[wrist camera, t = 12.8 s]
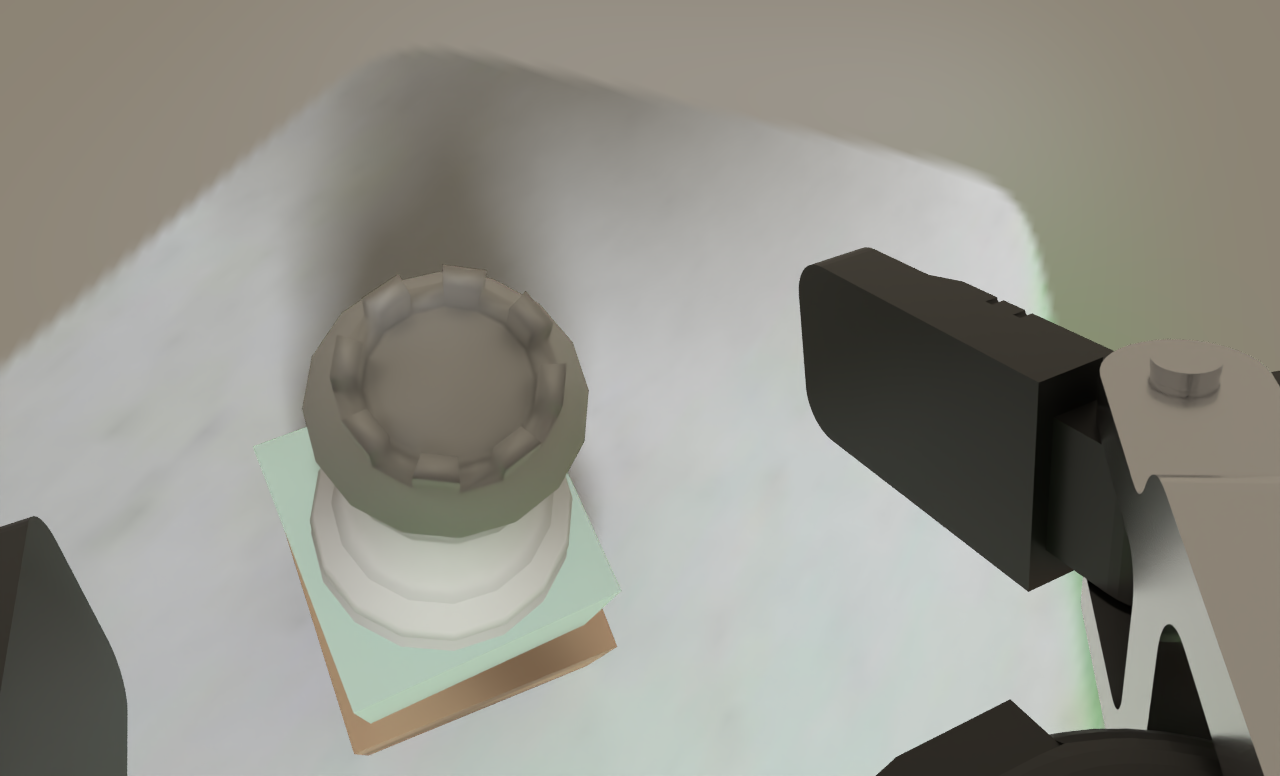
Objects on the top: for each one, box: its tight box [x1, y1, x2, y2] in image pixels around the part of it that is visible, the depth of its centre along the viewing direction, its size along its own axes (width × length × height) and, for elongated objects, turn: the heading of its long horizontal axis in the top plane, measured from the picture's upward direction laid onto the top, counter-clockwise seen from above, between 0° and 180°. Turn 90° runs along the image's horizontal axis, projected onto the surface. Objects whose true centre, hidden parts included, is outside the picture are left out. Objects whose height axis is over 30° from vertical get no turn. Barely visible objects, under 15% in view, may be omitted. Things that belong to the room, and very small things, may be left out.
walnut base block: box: [285, 533, 617, 755], centre depth 25 cm, size 6×6×5 cm
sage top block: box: [253, 427, 621, 724], centre depth 21 cm, size 5×5×5 cm
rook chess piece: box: [302, 264, 589, 651], centre depth 15 cm, size 4×4×8 cm
